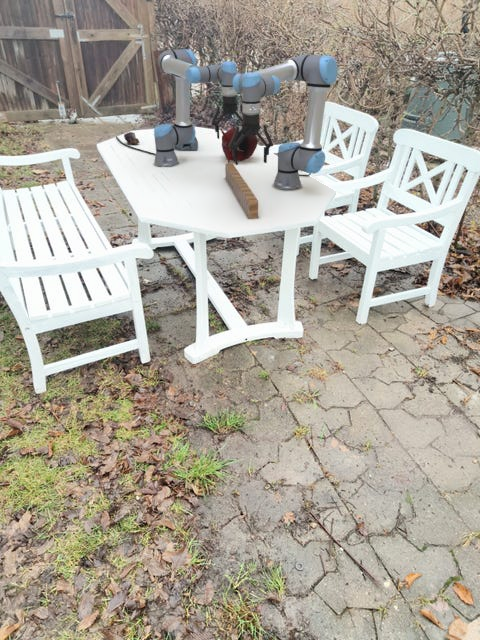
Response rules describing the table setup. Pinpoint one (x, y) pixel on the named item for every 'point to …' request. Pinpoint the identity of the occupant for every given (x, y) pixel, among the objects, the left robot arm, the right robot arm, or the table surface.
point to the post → (242, 191)
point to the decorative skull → (244, 148)
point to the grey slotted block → (188, 145)
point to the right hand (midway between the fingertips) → (250, 163)
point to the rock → (131, 138)
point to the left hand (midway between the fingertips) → (230, 137)
